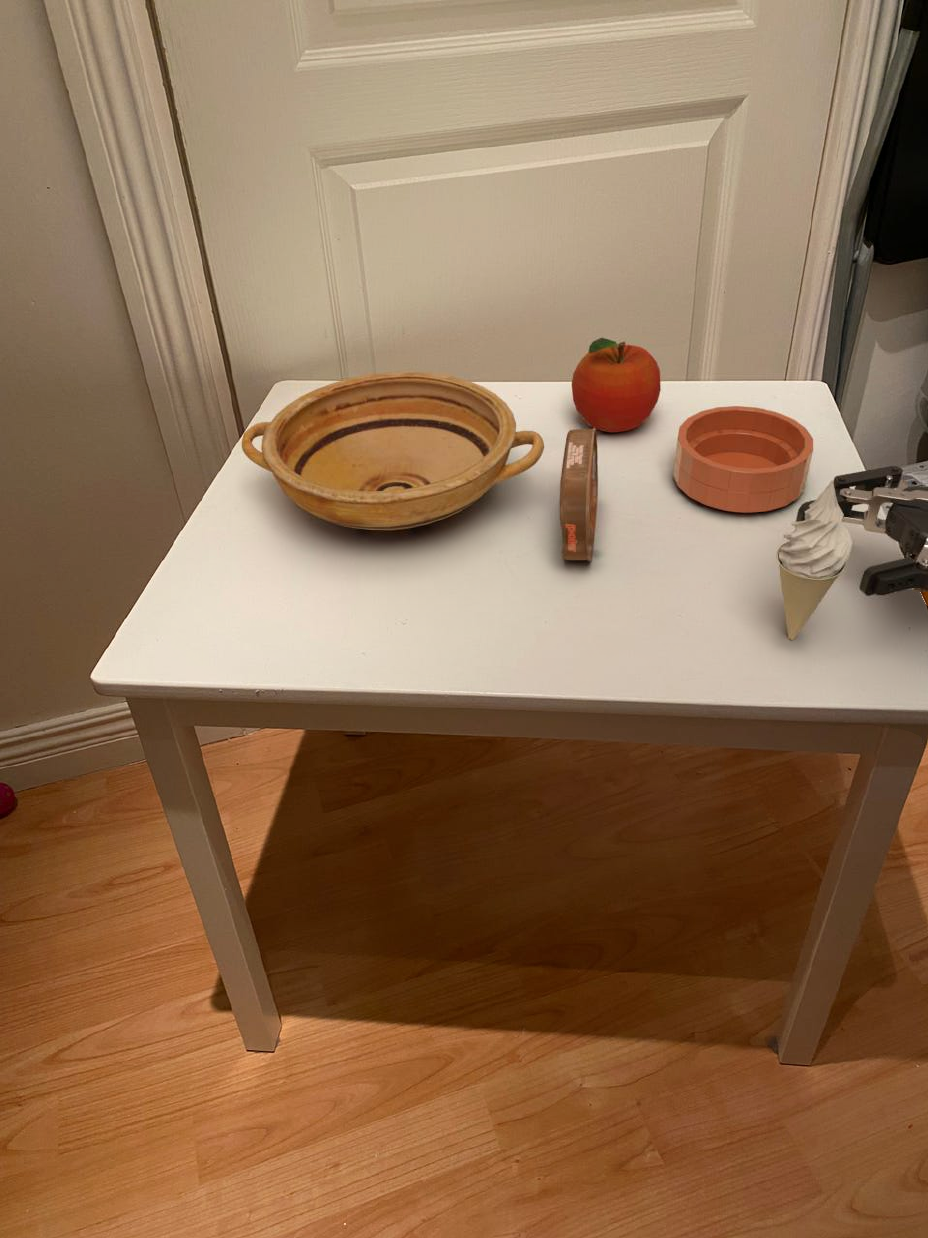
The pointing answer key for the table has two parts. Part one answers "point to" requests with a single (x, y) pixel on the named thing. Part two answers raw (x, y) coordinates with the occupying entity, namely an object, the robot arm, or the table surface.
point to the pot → (742, 458)
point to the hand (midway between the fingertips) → (830, 549)
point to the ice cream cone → (812, 559)
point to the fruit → (615, 385)
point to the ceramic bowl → (391, 449)
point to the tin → (579, 494)
